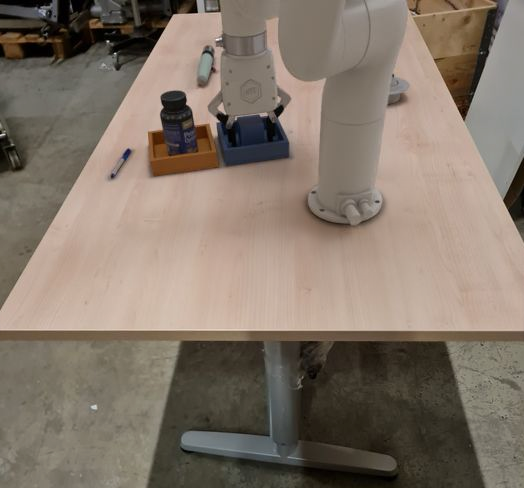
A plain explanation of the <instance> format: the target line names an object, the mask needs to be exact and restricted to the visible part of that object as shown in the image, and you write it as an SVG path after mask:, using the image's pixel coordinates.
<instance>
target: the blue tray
mask: <svg viewBox="0 0 524 488" xmlns="http://www.w3.org/2000/svg"><path fill="white" fill-rule="evenodd" d="M260 117H261V119H262V121H263V124H264V140H265V143H262V144H255V145H248V146H241V145H240V142H239V138H238V126H237V119H235V120H234V123H233V124H234V127H235V132H236V143H237V147H233V146H232V142H231V143H229V142H228V135H227V128H226V126H225V125H224V124H222V123H221V122H220V121H218V122H217V121H216V122H215V125H216V133H217V138H218V142H219V147H220V149H221V154H222V158H223V161H224V164H225V166H226V167H229V166H235V165H243V164H248V163H255V162H263V161H270V160H277V159H285V158H290V140H289V138H288V136H287V134H286V132H285V129H284V128H283V126H282V123H281V121H280V120H279V117H278V118H277V122H275V130H276V136H275V137H273V142H269V141H268V138H267V129H266V118H267V117H268V115H262V116H260Z"/></svg>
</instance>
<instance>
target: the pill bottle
mask: <svg viewBox="0 0 524 488" xmlns="http://www.w3.org/2000/svg"><path fill="white" fill-rule="evenodd" d="M187 102H188V98H187V94H186V92H184V91H183V90H169V91H165V92H163V93H162V94H160V104H161V106H162V108H161V110H160V112H159V119H160V124H161V127H162V128H161V129H162V130H163V133H164V138H165V142H166V147H167V152H168V155H169V156H175V155H182V154H190V153H197V152H198V145H197V138H196V132H195V125H196V124H195V120H194V113H193V109H192V107H190V105H188V104H187Z"/></svg>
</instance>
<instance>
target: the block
mask: <svg viewBox="0 0 524 488" xmlns="http://www.w3.org/2000/svg"><path fill="white" fill-rule="evenodd" d="M261 117H262V116H261V113H258V114H251V115H243V116H236V120H237V126H238V138H239V142H240V145H241V146H248V145H255V144H262V143H265V140H264V124H263V121H262V119H261Z"/></svg>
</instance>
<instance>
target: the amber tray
mask: <svg viewBox="0 0 524 488" xmlns="http://www.w3.org/2000/svg"><path fill="white" fill-rule="evenodd" d="M194 125H195V132H196V138H197V145H198V152H197V153H190V154H182V155H175V156H169V155H168V152H167V147H166V142H165V138H164V133H163V129H158V130H150V131H147V139H148V152H149V157H148V158H149V164H150V168H151V172H152V176H153V177H158V176H165V175H171V174H179V173H187V172H193V171H200V170H207V169H215V168H219V159H218V152H217V147H216V143H215V140H214V135H213V132H212V129H211V124H210V123H201V124H197V125H196V124H194Z"/></svg>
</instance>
